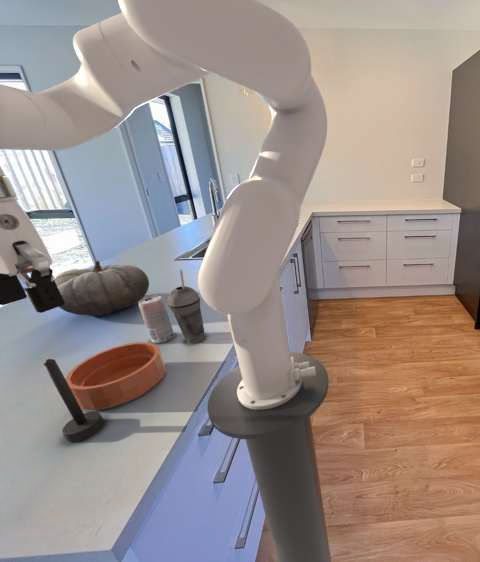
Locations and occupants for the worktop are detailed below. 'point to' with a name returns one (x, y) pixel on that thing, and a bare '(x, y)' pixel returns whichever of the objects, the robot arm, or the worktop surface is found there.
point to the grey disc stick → (73, 408)
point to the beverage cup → (187, 312)
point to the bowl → (116, 375)
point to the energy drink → (156, 319)
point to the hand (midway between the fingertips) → (32, 304)
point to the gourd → (101, 288)
